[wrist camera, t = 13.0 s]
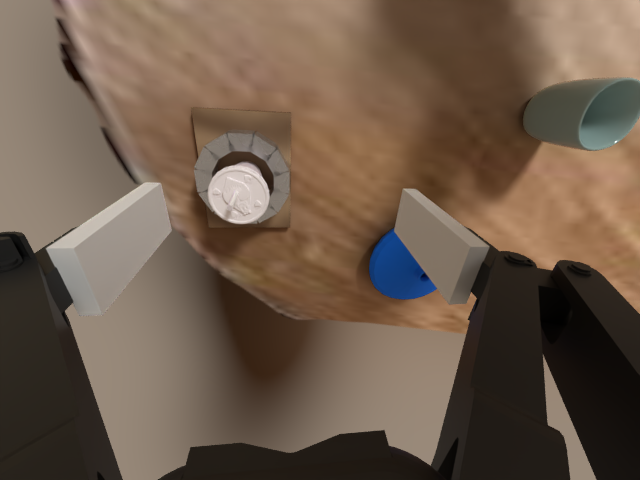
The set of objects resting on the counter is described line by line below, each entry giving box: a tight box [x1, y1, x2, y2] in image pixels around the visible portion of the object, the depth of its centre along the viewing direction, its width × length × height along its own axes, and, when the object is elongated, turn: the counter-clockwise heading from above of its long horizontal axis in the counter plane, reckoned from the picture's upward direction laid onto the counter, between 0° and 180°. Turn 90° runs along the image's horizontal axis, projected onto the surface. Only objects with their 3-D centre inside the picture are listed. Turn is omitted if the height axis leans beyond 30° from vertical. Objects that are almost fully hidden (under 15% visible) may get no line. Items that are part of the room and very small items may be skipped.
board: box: [191, 107, 291, 228], centre depth 38 cm, size 16×12×1 cm
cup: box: [523, 77, 640, 151], centre depth 35 cm, size 8×8×10 cm
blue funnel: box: [369, 228, 437, 299], centre depth 46 cm, size 16×16×7 cm
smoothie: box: [208, 161, 270, 224], centre depth 31 cm, size 6×6×14 cm
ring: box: [194, 130, 290, 224], centre depth 36 cm, size 12×12×4 cm
